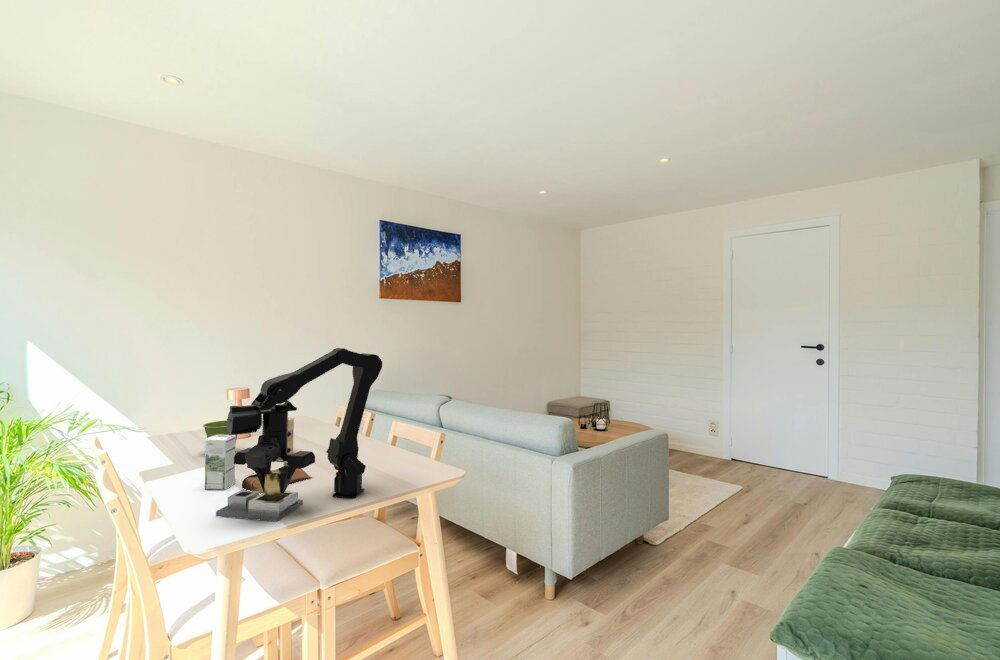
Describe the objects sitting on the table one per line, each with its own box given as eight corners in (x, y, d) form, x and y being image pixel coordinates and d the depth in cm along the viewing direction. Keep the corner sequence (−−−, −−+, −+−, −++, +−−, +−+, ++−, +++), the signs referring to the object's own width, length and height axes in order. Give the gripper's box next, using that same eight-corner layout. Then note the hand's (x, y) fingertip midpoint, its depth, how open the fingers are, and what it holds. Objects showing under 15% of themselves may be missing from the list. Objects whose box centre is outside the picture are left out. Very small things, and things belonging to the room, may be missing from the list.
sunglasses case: (259, 494, 128) (252, 471, 130) (246, 503, 131) (239, 480, 133) (314, 477, 143) (308, 457, 145) (301, 485, 146) (295, 465, 148)
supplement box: (282, 459, 161) (283, 421, 161) (268, 459, 161) (269, 421, 161) (294, 453, 170) (294, 417, 169) (281, 453, 170) (281, 417, 170)
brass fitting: (287, 497, 119) (287, 470, 119) (276, 504, 114) (277, 475, 114) (271, 496, 119) (271, 469, 119) (260, 502, 115) (260, 474, 115)
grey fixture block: (302, 504, 122) (303, 490, 122) (276, 521, 111) (276, 506, 111) (246, 499, 124) (247, 486, 124) (215, 516, 113) (216, 501, 113)
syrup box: (235, 483, 137) (236, 433, 136) (224, 490, 131) (225, 438, 131) (215, 483, 136) (216, 433, 136) (203, 490, 130) (204, 438, 130)
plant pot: (225, 449, 173) (226, 418, 173) (248, 453, 169) (249, 421, 169) (194, 457, 162) (194, 424, 162) (217, 461, 158) (218, 428, 158)
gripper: (217, 435, 110) (216, 501, 110) (290, 439, 108) (289, 507, 108) (249, 425, 121) (248, 485, 121) (316, 429, 119) (315, 490, 119)
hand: (274, 492), depth 117 cm, fingers closed on brass fitting, 4 cm apart
